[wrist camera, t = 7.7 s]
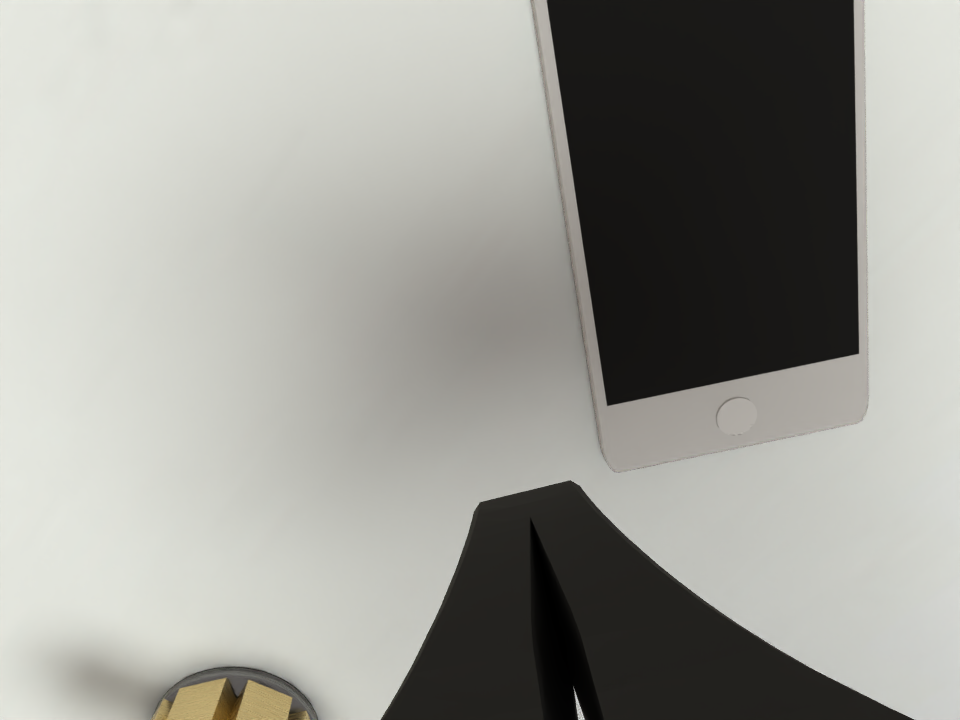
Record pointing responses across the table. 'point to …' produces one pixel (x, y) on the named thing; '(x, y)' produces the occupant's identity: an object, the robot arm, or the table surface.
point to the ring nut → (228, 703)
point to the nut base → (238, 681)
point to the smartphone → (713, 216)
